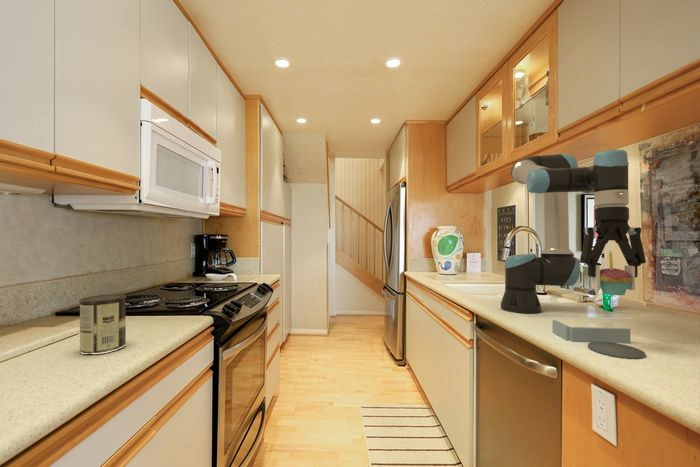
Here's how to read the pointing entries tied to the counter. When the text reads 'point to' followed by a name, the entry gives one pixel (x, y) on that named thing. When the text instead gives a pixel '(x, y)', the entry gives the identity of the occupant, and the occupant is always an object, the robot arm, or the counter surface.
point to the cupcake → (614, 280)
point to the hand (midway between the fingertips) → (612, 289)
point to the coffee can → (102, 323)
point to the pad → (616, 350)
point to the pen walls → (591, 333)
